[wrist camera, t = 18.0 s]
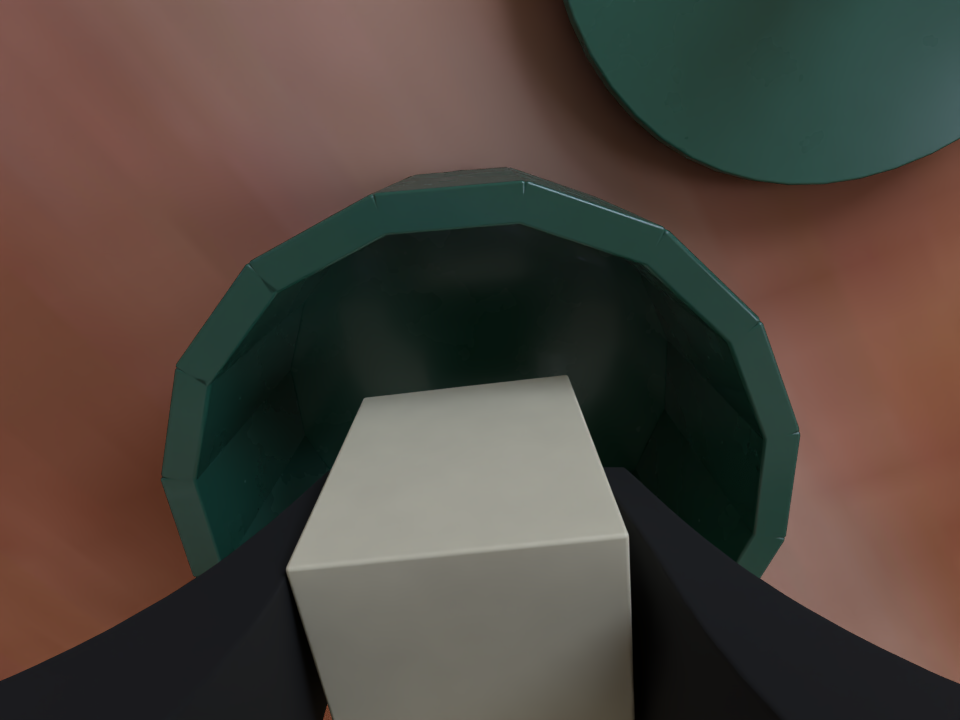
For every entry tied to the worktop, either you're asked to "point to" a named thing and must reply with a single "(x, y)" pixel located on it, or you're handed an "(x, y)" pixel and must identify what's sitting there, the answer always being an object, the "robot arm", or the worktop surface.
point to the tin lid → (782, 80)
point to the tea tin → (482, 354)
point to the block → (468, 562)
